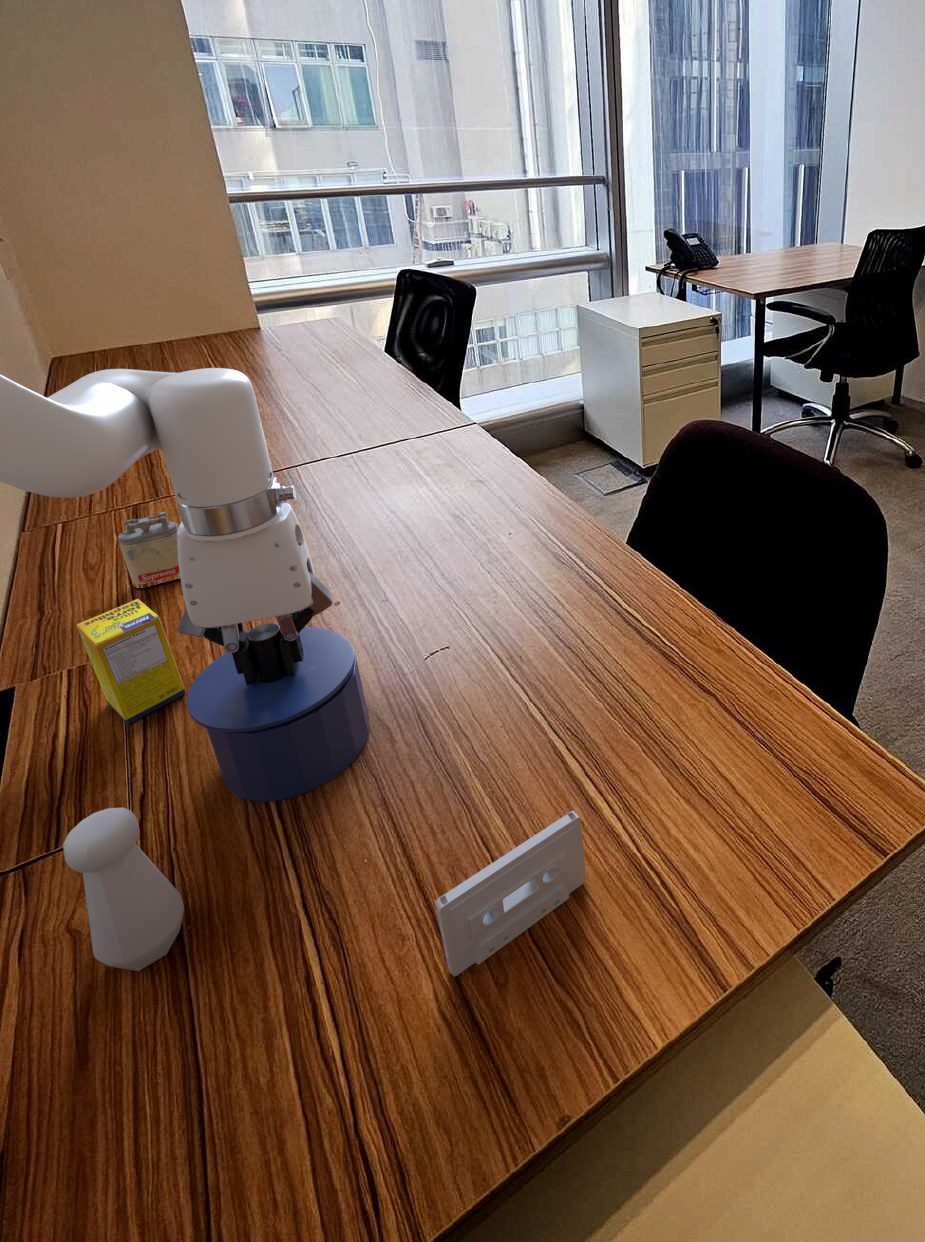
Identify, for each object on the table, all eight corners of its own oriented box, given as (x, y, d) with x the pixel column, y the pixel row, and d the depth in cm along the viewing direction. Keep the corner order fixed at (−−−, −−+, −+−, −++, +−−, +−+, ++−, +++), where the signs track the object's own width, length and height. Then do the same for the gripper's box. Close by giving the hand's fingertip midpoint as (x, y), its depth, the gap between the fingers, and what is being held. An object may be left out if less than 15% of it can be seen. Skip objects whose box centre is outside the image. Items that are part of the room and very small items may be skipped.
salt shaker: (84, 966, 57) (25, 846, 52) (158, 898, 62) (110, 783, 57) (136, 995, 55) (79, 873, 50) (208, 923, 60) (162, 806, 55)
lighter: (132, 592, 103) (110, 530, 99) (134, 579, 106) (113, 518, 102) (192, 577, 106) (174, 516, 103) (193, 565, 109) (174, 505, 106)
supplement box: (165, 674, 87) (138, 596, 83) (187, 694, 84) (160, 615, 80) (105, 704, 83) (74, 623, 79) (127, 726, 80) (95, 644, 75)
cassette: (578, 869, 64) (572, 804, 61) (590, 885, 62) (584, 819, 60) (444, 964, 57) (430, 896, 54) (455, 984, 55) (441, 915, 52)
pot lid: (171, 755, 65) (152, 701, 62) (208, 653, 77) (194, 605, 75) (352, 713, 70) (341, 661, 67) (359, 624, 82) (350, 577, 80)
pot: (209, 820, 69) (185, 750, 65) (237, 719, 80) (217, 656, 77) (367, 777, 73) (351, 710, 70) (371, 687, 85) (358, 627, 82)
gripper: (334, 476, 72) (364, 631, 79) (136, 502, 67) (187, 666, 73) (327, 510, 66) (361, 676, 72) (108, 542, 60) (166, 718, 67)
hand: (273, 670), depth 73 cm, fingers closed on pot lid, 2 cm apart
